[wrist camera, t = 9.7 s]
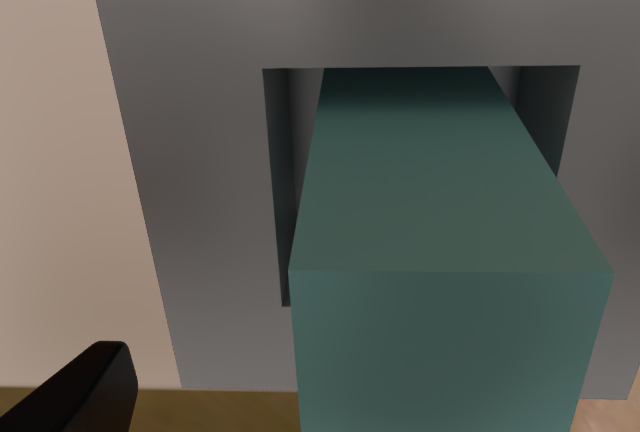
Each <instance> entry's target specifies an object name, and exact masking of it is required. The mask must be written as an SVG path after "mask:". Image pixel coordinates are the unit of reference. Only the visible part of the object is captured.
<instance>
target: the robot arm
mask: <svg viewBox="0 0 640 432" xmlns="http://www.w3.org/2000/svg"><path fill="white" fill-rule="evenodd" d="M137 393H138V380H137V376H136V372H135V369H134V365H133V362H132V358H131V354H130V351H129V348H128V346H127V344H126V343H124V342H122V341H98V342H96V343H94V344H92V345H91V346H90V347H88V348H87V349H86V350H85V351H83V352H82V353H81V354H80V355H78V356H77V357H76V358H74V359H73V360H72V361H71V362H69V363H68V364H67V365H66V366H64V367H63V368H62V369H60V370H59V371H58V372H57V373H56V374H54V375H53V376H52V377H50V378H49V379H48V380H47V381H45V382H44V383H43V384H42V385H40V386H39V387H38V388H36V389H35V390H34V391H33V392H31V393H30V394H29V395H27V396H26V397H25V398H24V399H22V400H21V401H20V402H19V403H17V404H16V405H15V406H13V407H12V408H11V409H10V410H8V411H7V412H6V413H5V414H3V415H2V416H1V417H0V432H128V431H129V427H130V423H131V419H132V415H133V411H134V407H135V403H136V399H137Z"/></svg>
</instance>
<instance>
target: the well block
mask: <svg viewBox="0 0 640 432" xmlns="http://www.w3.org/2000/svg"><path fill="white" fill-rule="evenodd" d="M96 3H97V8H98V12H99V17H100V21H101V26H102V30H103V35H104V39H105V44H106V48H107V53H108V57H109V62H110V66H111V71H112V75H113V80H114V84H115V89H116V93H117V98H118V102H119V106H120V111H121V116H122V120H123V125H124V129H125V134H126V138H127V143H128V147H129V152H130V156H131V161H132V165H133V170H134V174H135V179H136V183H137V188H138V192H139V197H140V201H141V205H142V210H143V215H144V219H145V224H146V228H147V233H148V237H149V241H150V246H151V251H152V255H153V260H154V264H155V268H156V273H157V278H158V282H159V286H160V291H161V296H162V300H163V305H164V309H165V314H166V318H167V323H168V326H169V331H170V336H171V341H172V345H173V350H174V354H175V359H176V363H177V367H178V372H179V377H180V381H181V386H182V388H207V389H244V390H280V391H298V388H297V376H296V363H295V351H294V339H293V327H292V314H291V302H290V290H289V277H288V267H289V262H290V256H291V251H292V245H293V239H294V234H295V228H296V223H297V217H298V212H299V206H300V200H301V195H302V189H303V184H304V178H305V172H306V167H307V161H308V156H309V150H310V145H311V139H312V133H313V128H314V122H315V117H316V111H317V106H318V100H319V94H320V89H321V83H322V78H323V72H324V68H356V67H453V66H488V68H489V69H490V71H491V73H492V74H493V76H494V77H495V79H496V81H497V82H498V84H499V86H500V87H501V89H502V90H503V92H504V94H505V95H506V97H507V99H508V100H509V102H510V103H511V105H512V107H513V108H514V110H515V112H516V113H517V115H518V116H519V118H520V120H521V121H522V123H523V125H524V126H525V128H526V129H527V131H528V133H529V134H530V136H531V137H532V139H533V141H534V142H535V144H536V146H537V147H538V149H539V150H540V152H541V154H542V155H543V157H544V159H545V160H546V162H547V163H548V165H549V167H550V168H551V170H552V172H553V173H554V175H555V176H556V178H557V180H558V181H559V183H560V185H561V186H562V188H563V189H564V191H565V193H566V194H567V196H568V198H569V199H570V201H571V202H572V204H573V206H574V207H575V209H576V210H577V212H578V214H579V215H580V217H581V219H582V220H583V222H584V223H585V225H586V227H587V228H588V230H589V232H590V233H591V235H592V236H593V238H594V240H595V241H596V243H597V245H598V246H599V248H600V249H601V251H602V253H603V254H604V256H605V258H606V259H607V261H608V262H609V264H610V266H611V267H612V269H613V270H614V272H615V275H614V278H613V282H612V285H611V289H610V292H609V296H608V299H607V303H606V306H605V310H604V313H603V316H602V320H601V323H600V327H599V330H598V334H597V337H596V341H595V344H594V348H593V351H592V354H591V358H590V361H589V365H588V368H587V372H586V375H585V379H584V382H583V386H582V389H581V392H580V396H579V399H607V400H627V398H628V395H629V392H630V390H631V387H632V384H633V381H634V379H635V376H636V373H637V370H638V368H639V365H640V0H96Z"/></svg>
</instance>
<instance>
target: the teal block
mask: <svg viewBox="0 0 640 432" xmlns="http://www.w3.org/2000/svg"><path fill="white" fill-rule="evenodd" d="M614 275H615V272H614V270H613V269H612V267H611V266H610V264H609V262H608V261H607V259H606V258H605V256H604V254H603V253H602V251H601V249H600V248H599V246H598V245H597V243H596V241H595V240H594V238H593V236H592V235H591V233H590V232H589V230H588V228H587V227H586V225H585V223H584V222H583V220H582V219H581V217H580V215H579V214H578V212H577V210H576V209H575V207H574V206H573V204H572V202H571V201H570V199H569V198H568V196H567V194H566V193H565V191H564V189H563V188H562V186H561V185H560V183H559V181H558V180H557V178H556V176H555V175H554V173H553V172H552V170H551V168H550V167H549V165H548V163H547V162H546V160H545V159H544V157H543V155H542V154H541V152H540V150H539V149H538V147H537V146H536V144H535V142H534V141H533V139H532V137H531V136H530V134H529V133H528V131H527V129H526V128H525V126H524V125H523V123H522V121H521V120H520V118H519V116H518V115H517V113H516V112H515V110H514V108H513V107H512V105H511V103H510V102H509V100H508V99H507V97H506V95H505V94H504V92H503V90H502V89H501V87H500V86H499V84H498V82H497V81H496V79H495V77H494V76H493V74H492V73H491V71H490V69H489V68H488V66H453V67H356V68H324V72H323V78H322V83H321V89H320V94H319V100H318V106H317V111H316V117H315V122H314V128H313V133H312V139H311V145H310V150H309V156H308V161H307V167H306V172H305V178H304V184H303V189H302V195H301V200H300V206H299V212H298V217H297V223H296V228H295V234H294V239H293V245H292V251H291V256H290V262H289V267H288V277H289V290H290V302H291V314H292V327H293V339H294V351H295V363H296V376H297V388H298V400H299V413H300V425H301V432H569V430H570V427H571V424H572V420H573V417H574V413H575V410H576V406H577V403H578V399H579V396H580V392H581V389H582V386H583V382H584V379H585V375H586V372H587V368H588V365H589V361H590V358H591V354H592V351H593V348H594V344H595V341H596V337H597V334H598V330H599V327H600V323H601V320H602V316H603V313H604V310H605V306H606V303H607V299H608V296H609V292H610V289H611V285H612V282H613V278H614Z"/></svg>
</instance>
